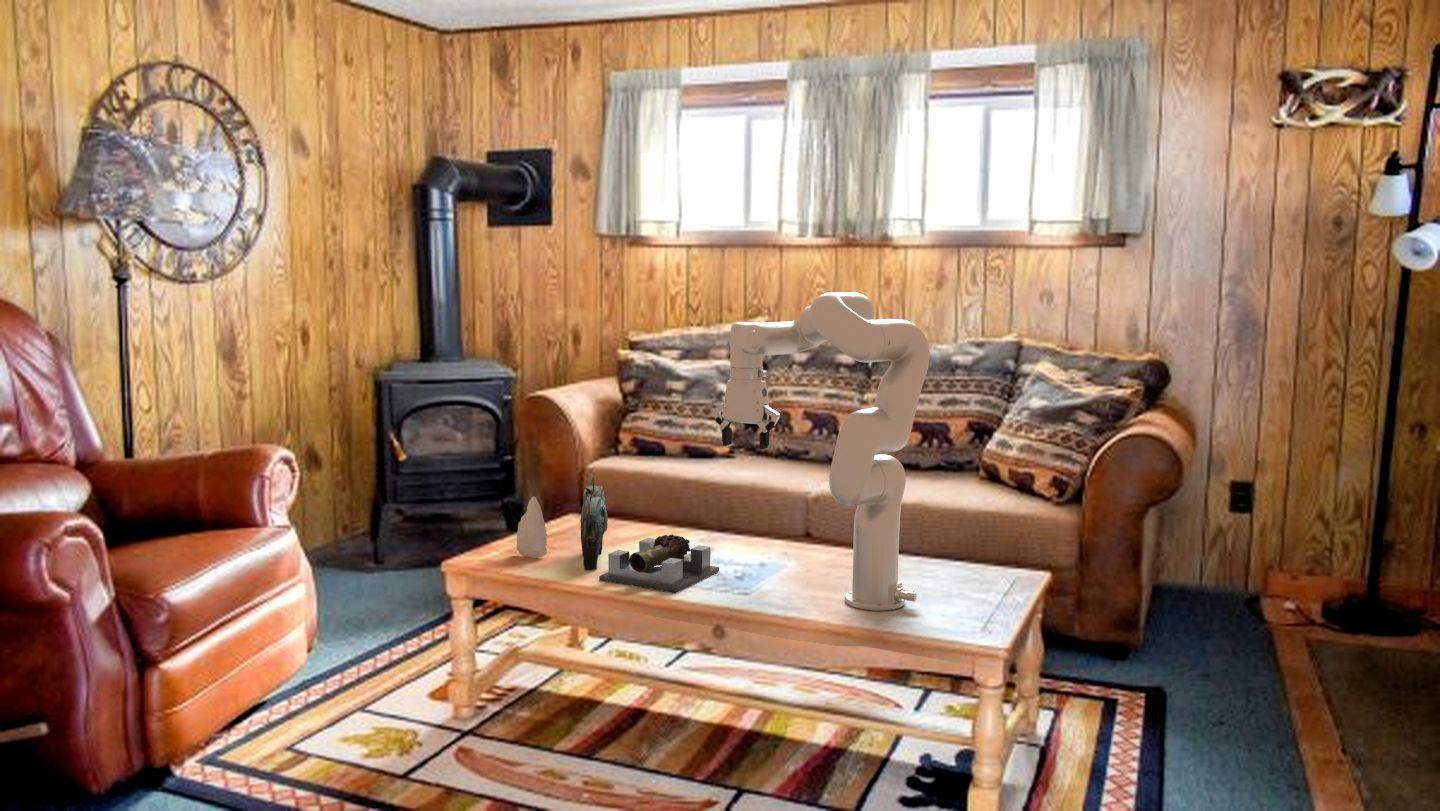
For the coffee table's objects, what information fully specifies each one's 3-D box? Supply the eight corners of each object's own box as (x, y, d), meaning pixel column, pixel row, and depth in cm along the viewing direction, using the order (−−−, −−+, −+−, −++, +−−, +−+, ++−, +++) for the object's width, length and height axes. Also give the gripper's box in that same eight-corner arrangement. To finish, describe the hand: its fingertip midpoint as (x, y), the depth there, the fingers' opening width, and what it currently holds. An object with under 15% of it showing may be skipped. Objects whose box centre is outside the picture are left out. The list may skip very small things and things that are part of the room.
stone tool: (550, 556, 265) (549, 496, 264) (543, 559, 263) (543, 498, 261) (519, 553, 268) (518, 493, 266) (512, 556, 265) (512, 495, 264)
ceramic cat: (584, 549, 273) (583, 471, 270) (610, 549, 273) (609, 471, 270) (576, 571, 253) (576, 486, 250) (604, 571, 253) (604, 486, 251)
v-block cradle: (719, 571, 254) (719, 546, 253) (675, 593, 236) (675, 566, 235) (646, 560, 263) (646, 535, 262) (599, 580, 245) (599, 554, 245)
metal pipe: (645, 574, 240) (645, 549, 239) (622, 569, 244) (622, 545, 243) (694, 557, 254) (694, 533, 254) (671, 553, 258) (671, 529, 257)
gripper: (786, 375, 254) (785, 447, 256) (721, 371, 262) (720, 441, 265) (772, 378, 248) (771, 452, 250) (706, 374, 256) (705, 446, 258)
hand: (745, 446), depth 257 cm, fingers open, 9 cm apart
